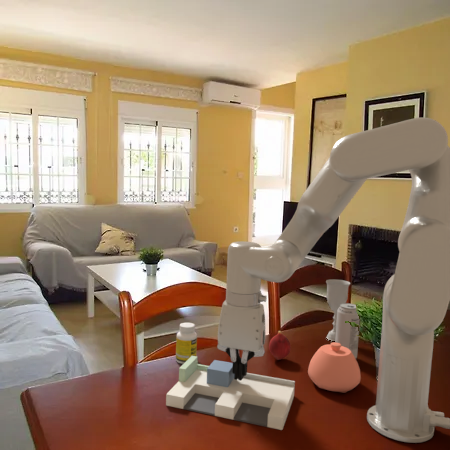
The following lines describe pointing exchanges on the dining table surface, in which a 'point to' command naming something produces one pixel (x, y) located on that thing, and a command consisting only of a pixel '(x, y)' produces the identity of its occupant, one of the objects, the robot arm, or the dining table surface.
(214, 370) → the block
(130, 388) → the dining table surface
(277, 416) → the box
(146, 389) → the dining table surface
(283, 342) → the onion
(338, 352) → the sugar bowl
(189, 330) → the supplement bottle
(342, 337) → the energy drink can
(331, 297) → the chalice
